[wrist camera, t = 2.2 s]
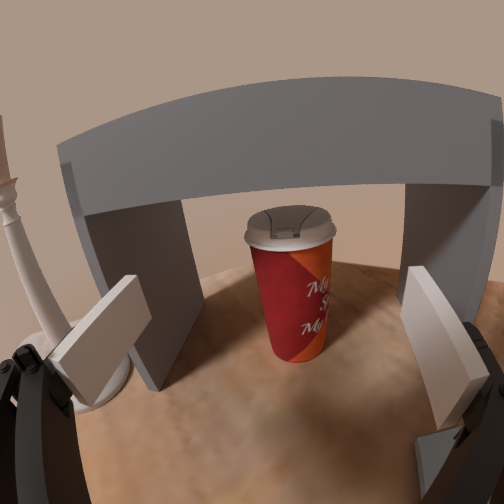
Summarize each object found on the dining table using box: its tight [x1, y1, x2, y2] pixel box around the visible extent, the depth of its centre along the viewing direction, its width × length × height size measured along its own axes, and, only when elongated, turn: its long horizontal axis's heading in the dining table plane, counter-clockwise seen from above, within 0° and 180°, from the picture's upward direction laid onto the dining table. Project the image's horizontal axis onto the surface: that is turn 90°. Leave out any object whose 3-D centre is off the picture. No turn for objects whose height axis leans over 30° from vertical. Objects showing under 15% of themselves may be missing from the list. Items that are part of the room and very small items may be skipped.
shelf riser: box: [57, 77, 504, 392], centre depth 23 cm, size 28×16×24 cm, turn 80°
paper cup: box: [244, 205, 336, 363], centre depth 25 cm, size 8×8×14 cm
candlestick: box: [0, 115, 130, 414], centre depth 20 cm, size 13×13×30 cm
